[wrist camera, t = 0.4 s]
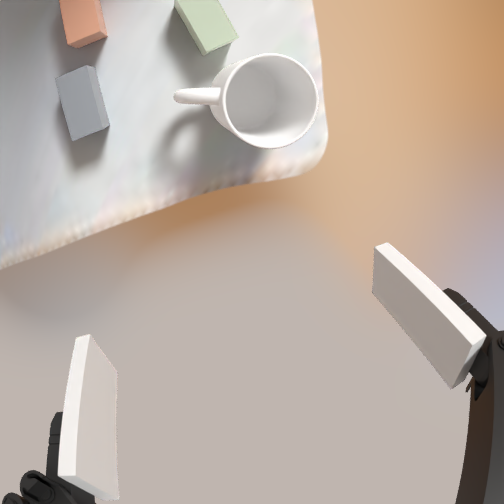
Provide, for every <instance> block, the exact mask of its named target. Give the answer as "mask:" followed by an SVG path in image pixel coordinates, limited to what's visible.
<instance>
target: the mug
mask: <svg viewBox="0 0 504 504" xmlns="http://www.w3.org/2000/svg"><path fill="white" fill-rule="evenodd" d="M173 97H174V100H175V101H176V102H178V103H182V104H200V105H210V109H211V111H212V114H213V115H214V117H215V119H216V120H217V121H218V122H219V123H220V124H221V125H222V126H223V127H225V128H226V129H228V130H229V131H230V132H232V133H233V134H235V135H236V136H237V137H239V138H240V139H241V140H243V141H244V142H246V143H248V144H250V145H252V146H255V147H259V148H264V149H276V148H282V147H285V146H288V145H290V144H292V143H294V142H296V141H297V140H299V139H300V138H301V137H303V136H304V135H305V134H306V133H307V131H308V130H309V129H310V127H311V126H312V124H313V122H314V120H315V118H316V115H317V111H318V103H319V99H318V91H317V87H316V84H315V82H314V80H313V78H312V76H311V75H310V73H309V72H308V71H307V70H306V68H305V67H303V66H302V65H301V64H300V63H299V62H297V61H296V60H294V59H292V58H290V57H287V56H285V55H281V54H273V53H267V54H260V55H256V56H253V57H250V58H247V59H244V60H241V61H238V62H236V63H233V64H231V65H229V66H227V67H225V68H224V69H222V70H221V71H220V72H219V73H218V74H217V75H216V77H215V78H214V80H213V82H212V84H211V86H210V88H192V89H180V90H177V91H176V92H175V93H174V96H173Z"/></svg>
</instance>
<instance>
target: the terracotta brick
mask: <svg viewBox="0 0 504 504" xmlns="http://www.w3.org/2000/svg"><path fill="white" fill-rule="evenodd" d="M59 3H60V9H61V14H62V19H63V25H64V30H65V34H66V39H67V44H68V45H70V46H72V47H75V48H81V47H83V46H85V45H88V44H90V43H93V42H95V41H98V40H100V39H103V38H105V37H108V36H107V32H106V27H105V23H104V18H103V14H102V9H101V4H100V0H59Z"/></svg>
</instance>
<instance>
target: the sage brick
mask: <svg viewBox="0 0 504 504" xmlns="http://www.w3.org/2000/svg"><path fill="white" fill-rule="evenodd" d="M174 7H175V8H176V10H177V12H178V14H179V15H180V17H181V19H182V20H183V22H184V24H185V26H186V27H187V29H188V31H189V33H190V34H191V36H192V38H193V40H194V41H195V43H196V45H197V47H198V49H199V50H200V52H201V54H202V56H204V55H206V54H208V53H210V52H212V51H214V50H216V49H218V48H220V47H223V46H225V45H227V44H229V43H232V42H233V41H235V40H236V39H238V38H239V37H238V35H237V33H236V31H235V29H234V28H233V26H232V24H231V22H230V20H229V18H228V17H227V15H226V13H225V11H224V10H223V8H222V6H221V4H220V3H219V1H218V0H175V1H174Z"/></svg>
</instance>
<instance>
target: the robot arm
mask: <svg viewBox="0 0 504 504" xmlns="http://www.w3.org/2000/svg"><path fill="white" fill-rule="evenodd" d="M372 293H373V294H374V296H375V297H376V298H377V299H378V300H379V301H380V303H381V304H382V305H383V306H384V307H385V308H386V310H387V311H388V312H389V313H390V314H391V315H392V317H393V318H394V319H395V320H396V321H397V323H398V324H399V325H400V326H401V327H402V329H403V330H404V331H405V332H406V334H407V335H408V336H409V337H410V338H411V340H412V341H413V342H414V343H415V345H416V346H417V347H418V348H419V350H420V351H421V352H422V353H423V355H424V356H425V357H426V358H427V360H428V361H429V362H430V363H431V365H432V366H433V367H434V368H435V370H436V371H437V372H438V373H439V375H440V376H441V377H442V379H443V380H444V381H445V383H446V384H447V385H448V386H449V388H450V389H453V388H454V387H456V386H457V385H458V384H460V383H461V382H463V381H464V380H465V378H466V376H467V375H468V373H469V372H470V373H471V375H472V376H473V377H472V379H471V381H470V382H469V384H468V386H467V387H466V392H468V390H469V389H470V387H471V398H470V413H469V424H468V434H467V442H466V450H465V457H464V463H463V469H462V475H461V480H460V485H459V490H458V494H457V499H456V503H455V504H504V331H498V330H496V329H495V328H494V327H493V326H492V325H491V324H490V323H489V322H488V321H487V320H486V319H485V318H484V317H483V316H482V315H481V314H480V313H479V312H478V311H477V310H476V309H475V308H473V306H472V305H471V304H470V303H468V302H467V300H466V299H465V298H464V297H463V296H461V295H460V294H459V293H458V292H456V291H454V290H452V289H449V288H447V289H445V290H443V291H441V290H440V289H439V288H438V287H437V286H436V285H435V284H434V283H433V282H432V281H431V280H430V279H428V277H426V276H425V275H424V274H423V273H422V272H421V271H420V270H419V269H418V268H416V267H415V266H414V265H413V264H412V263H411V262H410V261H408V260H407V259H406V258H405V257H404V256H403V255H402V254H401V253H399V252H398V251H397V250H396V249H395V248H394V247H393V246H392V245H390V244H389V243H388V242H387V243H384V244H381V245H379V246H376V247H374V270H373V288H372ZM117 377H118V372H117V371H116V369H115V368H114V367H113V365H112V364H111V363H110V361H109V360H108V359H107V357H106V356H105V355H104V354H103V352H102V351H101V349H100V348H99V346H98V345H97V343H96V342H95V341H94V339H93V338H92V336H91V335H90V334H89V335H85V336H81V337H77V338H76V341H75V346H74V351H73V355H72V361H71V366H70V372H69V377H68V383H67V389H66V395H65V402H64V410H63V412H57V413H56V414H55V416H54V418H53V420H52V422H51V428H50V437H49V446H48V455H47V467H46V476H45V475H43V474H42V473H40V472H38V471H35V470H31V471H28V472H27V473H25V474H24V476H23V477H22V479H21V482H20V491H21V494H22V496H23V497H21V496H19V495H18V494H15V493H8V494H7V495H6V496H5V497H4V499H3V501H2V504H96V503H95V498H94V496H95V497H97V498H99V499H101V500H119V486H118V470H117V437H116V436H117V432H116V418H117V417H116V415H117V413H116V412H117V379H118V378H117Z"/></svg>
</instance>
